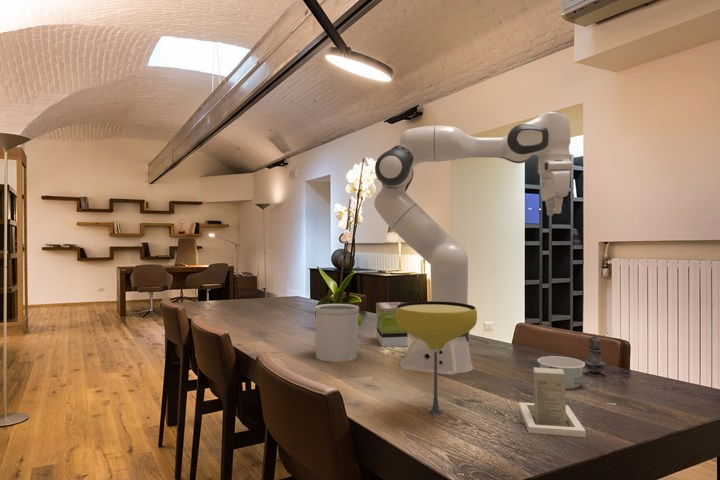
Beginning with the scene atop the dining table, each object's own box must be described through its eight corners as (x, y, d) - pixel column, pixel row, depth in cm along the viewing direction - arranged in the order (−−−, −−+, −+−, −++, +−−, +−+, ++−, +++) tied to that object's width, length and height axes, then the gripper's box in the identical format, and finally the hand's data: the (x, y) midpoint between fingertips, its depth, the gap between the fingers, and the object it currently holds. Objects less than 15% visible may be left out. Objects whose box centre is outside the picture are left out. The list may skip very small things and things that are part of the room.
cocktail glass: (493, 428, 101) (493, 310, 100) (414, 439, 95) (414, 314, 95) (453, 400, 118) (452, 299, 118) (384, 408, 113) (384, 302, 113)
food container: (582, 395, 122) (581, 369, 122) (533, 387, 128) (533, 363, 128) (587, 383, 132) (587, 359, 132) (542, 376, 138) (542, 354, 138)
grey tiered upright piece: (608, 378, 136) (608, 336, 136) (586, 377, 137) (586, 335, 137) (602, 372, 142) (602, 332, 142) (581, 371, 143) (581, 331, 143)
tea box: (375, 338, 190) (375, 302, 190) (400, 338, 191) (400, 301, 191) (381, 347, 175) (381, 307, 175) (408, 346, 176) (408, 307, 176)
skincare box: (565, 425, 102) (564, 368, 102) (566, 433, 98) (566, 374, 98) (533, 421, 104) (533, 366, 104) (533, 429, 100) (533, 371, 100)
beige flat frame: (528, 439, 95) (528, 426, 95) (518, 413, 109) (518, 402, 109) (585, 443, 93) (585, 430, 93) (567, 416, 107) (567, 405, 107)
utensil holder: (351, 351, 169) (351, 302, 168) (365, 362, 154) (365, 308, 154) (310, 355, 164) (310, 304, 164) (321, 366, 150) (320, 310, 150)
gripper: (536, 172, 151) (536, 215, 151) (549, 162, 131) (549, 212, 131) (557, 171, 150) (557, 215, 150) (574, 161, 130) (574, 212, 130)
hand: (553, 214), depth 140 cm, fingers open, 8 cm apart
